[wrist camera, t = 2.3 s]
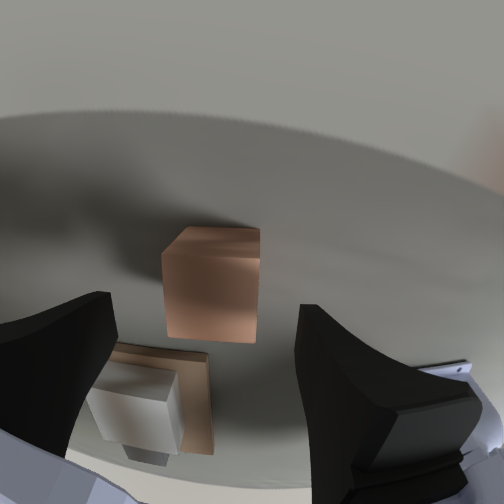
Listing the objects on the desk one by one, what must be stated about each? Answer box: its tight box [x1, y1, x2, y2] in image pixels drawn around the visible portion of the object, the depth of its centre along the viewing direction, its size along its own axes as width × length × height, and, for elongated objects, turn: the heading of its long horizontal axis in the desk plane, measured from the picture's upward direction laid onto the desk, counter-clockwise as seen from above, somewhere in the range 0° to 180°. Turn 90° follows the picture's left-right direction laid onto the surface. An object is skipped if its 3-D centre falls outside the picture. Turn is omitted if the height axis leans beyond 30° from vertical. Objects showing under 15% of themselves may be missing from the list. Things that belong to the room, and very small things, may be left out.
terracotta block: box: [161, 226, 260, 343], centre depth 15 cm, size 4×4×5 cm
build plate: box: [86, 343, 214, 467], centre depth 19 cm, size 10×11×4 cm
